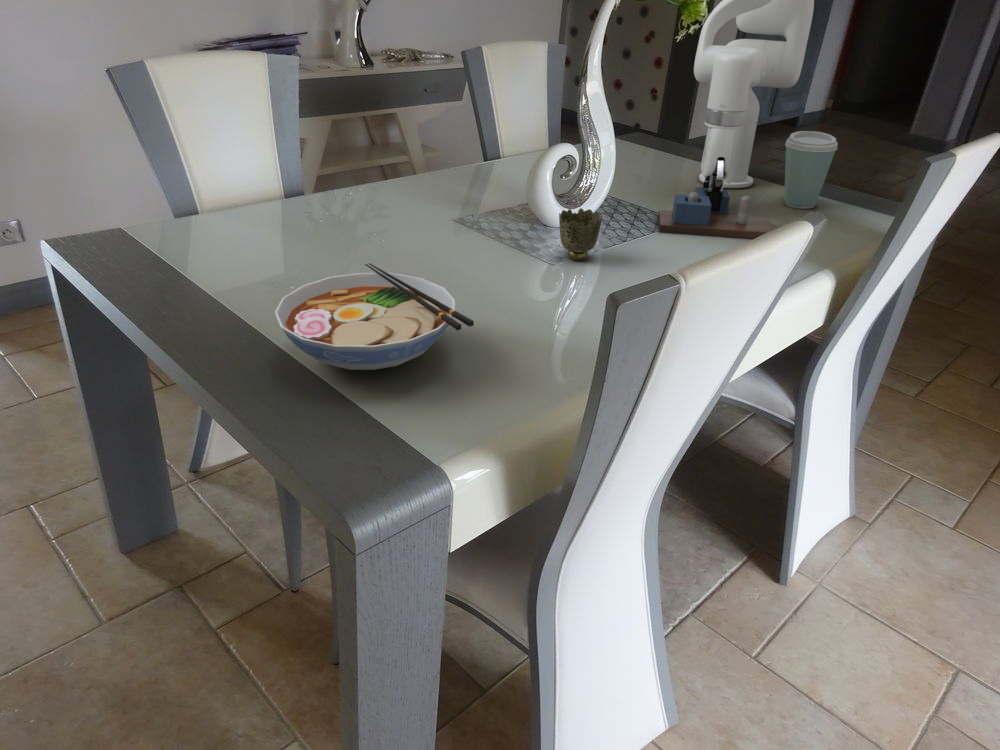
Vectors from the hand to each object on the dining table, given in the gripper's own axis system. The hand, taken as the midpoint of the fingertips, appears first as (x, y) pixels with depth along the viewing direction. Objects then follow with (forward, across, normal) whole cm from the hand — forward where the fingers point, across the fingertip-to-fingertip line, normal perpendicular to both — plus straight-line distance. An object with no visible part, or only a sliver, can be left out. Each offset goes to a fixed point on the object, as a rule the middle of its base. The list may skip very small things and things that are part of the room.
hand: (710, 204), depth 159 cm
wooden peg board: (+1, +12, 0) cm, 12 cm away
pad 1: (0, +12, -5) cm, 13 cm away
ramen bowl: (+2, +78, -51) cm, 93 cm away
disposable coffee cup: (+1, -9, +20) cm, 22 cm away
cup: (+1, +35, -26) cm, 44 cm away
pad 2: (+1, 0, 0) cm, 1 cm away
